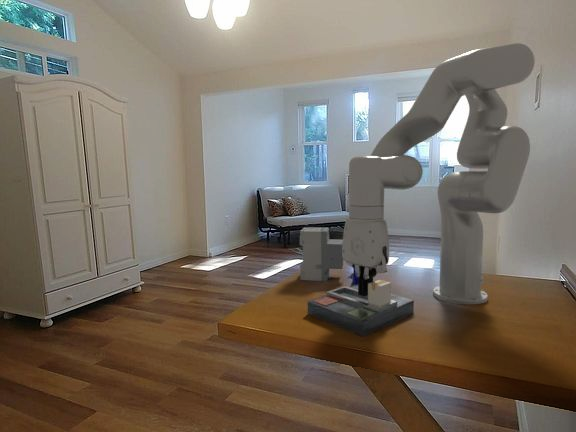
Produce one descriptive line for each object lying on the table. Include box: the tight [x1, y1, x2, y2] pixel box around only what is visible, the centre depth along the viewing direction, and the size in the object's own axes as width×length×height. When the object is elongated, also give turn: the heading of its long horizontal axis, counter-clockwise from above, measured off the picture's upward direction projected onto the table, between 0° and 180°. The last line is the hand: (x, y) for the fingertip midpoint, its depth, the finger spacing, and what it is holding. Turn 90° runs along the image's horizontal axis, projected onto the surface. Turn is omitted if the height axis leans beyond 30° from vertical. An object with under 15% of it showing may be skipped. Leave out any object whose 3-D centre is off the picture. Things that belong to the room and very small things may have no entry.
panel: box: [307, 284, 415, 337], centre depth 83 cm, size 18×16×4 cm
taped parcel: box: [368, 279, 392, 307], centre depth 79 cm, size 4×3×5 cm
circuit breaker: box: [299, 226, 344, 282], centre depth 112 cm, size 8×14×15 cm, turn 78°
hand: (365, 294), depth 82 cm, fingers closed
